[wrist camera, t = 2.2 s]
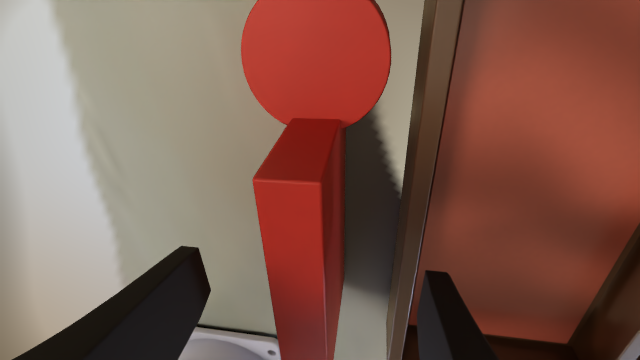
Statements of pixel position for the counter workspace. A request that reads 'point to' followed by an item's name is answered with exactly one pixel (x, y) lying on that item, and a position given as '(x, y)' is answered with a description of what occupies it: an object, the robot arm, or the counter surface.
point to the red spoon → (310, 151)
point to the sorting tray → (525, 177)
